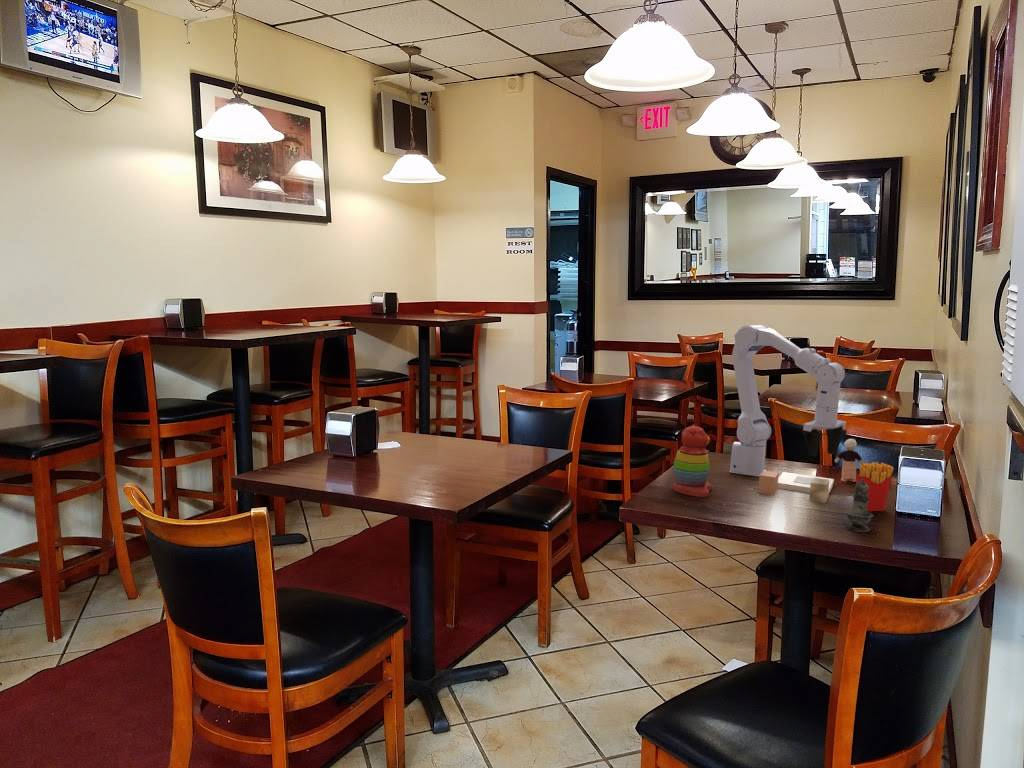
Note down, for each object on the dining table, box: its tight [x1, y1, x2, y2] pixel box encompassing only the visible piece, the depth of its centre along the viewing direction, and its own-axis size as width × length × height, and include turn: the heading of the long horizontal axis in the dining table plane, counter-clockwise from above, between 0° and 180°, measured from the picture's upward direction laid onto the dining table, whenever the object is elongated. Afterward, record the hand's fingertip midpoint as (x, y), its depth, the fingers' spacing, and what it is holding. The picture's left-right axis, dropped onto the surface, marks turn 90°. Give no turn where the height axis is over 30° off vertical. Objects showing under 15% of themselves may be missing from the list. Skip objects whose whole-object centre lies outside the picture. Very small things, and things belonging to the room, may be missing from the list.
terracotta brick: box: [757, 470, 780, 496], centre depth 211 cm, size 4×6×5 cm, turn 152°
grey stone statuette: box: [845, 479, 874, 533], centre depth 181 cm, size 6×6×12 cm
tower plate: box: [777, 471, 835, 497], centre depth 218 cm, size 14×14×2 cm
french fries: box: [856, 461, 894, 512], centre depth 196 cm, size 8×4×12 cm, turn 94°
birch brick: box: [808, 478, 829, 504], centre depth 205 cm, size 4×6×5 cm, turn 152°
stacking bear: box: [672, 424, 713, 498], centre depth 207 cm, size 11×10×18 cm
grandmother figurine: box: [834, 438, 864, 482], centre depth 224 cm, size 8×4×13 cm, turn 84°
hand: (822, 455), depth 214 cm, fingers open, 7 cm apart
